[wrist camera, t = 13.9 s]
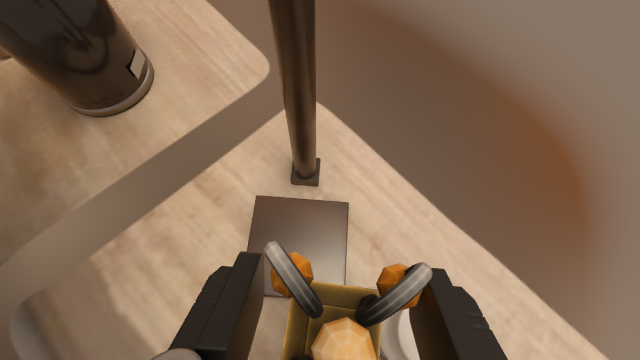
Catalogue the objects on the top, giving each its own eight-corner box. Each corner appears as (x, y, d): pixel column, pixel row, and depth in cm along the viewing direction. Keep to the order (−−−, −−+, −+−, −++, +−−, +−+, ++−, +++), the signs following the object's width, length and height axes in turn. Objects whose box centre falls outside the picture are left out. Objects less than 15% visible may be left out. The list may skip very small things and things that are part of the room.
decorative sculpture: (400, 279, 14) (460, 246, 7) (395, 406, 12) (469, 561, 5) (297, 265, 15) (244, 220, 7) (277, 384, 13) (180, 492, 5)
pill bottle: (401, 277, 26) (439, 263, 18) (443, 334, 25) (506, 348, 16) (350, 314, 25) (367, 318, 17) (391, 377, 24) (430, 415, 15)
